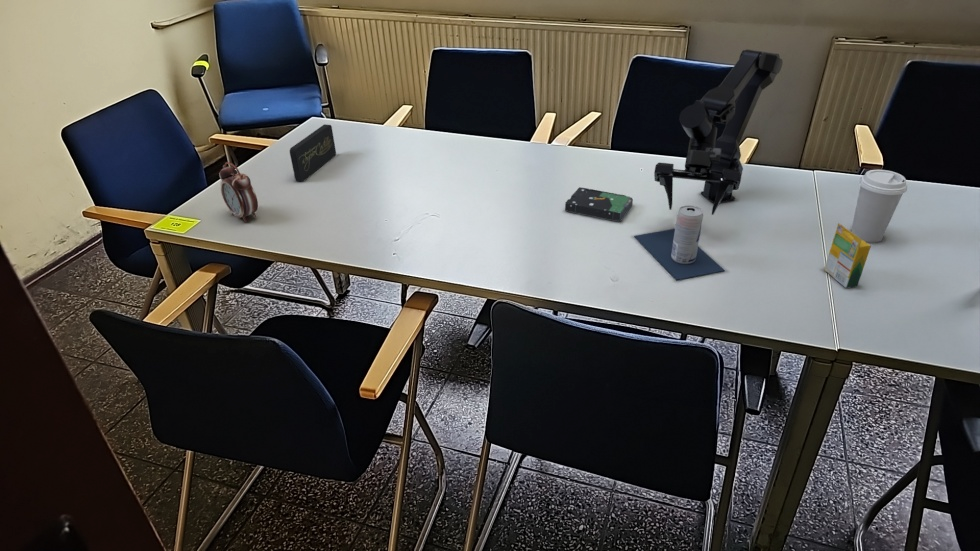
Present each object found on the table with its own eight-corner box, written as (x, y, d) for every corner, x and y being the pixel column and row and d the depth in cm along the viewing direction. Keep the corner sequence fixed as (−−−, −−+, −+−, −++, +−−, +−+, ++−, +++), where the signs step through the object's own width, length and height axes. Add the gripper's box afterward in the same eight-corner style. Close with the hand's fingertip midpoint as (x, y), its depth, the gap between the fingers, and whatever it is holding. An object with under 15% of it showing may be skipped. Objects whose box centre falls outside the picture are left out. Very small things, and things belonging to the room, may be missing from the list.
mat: (677, 229, 159) (677, 228, 158) (724, 271, 142) (724, 270, 142) (634, 236, 156) (634, 235, 156) (676, 280, 140) (676, 279, 140)
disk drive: (564, 212, 168) (620, 223, 162) (564, 202, 166) (621, 212, 160) (578, 196, 175) (632, 205, 170) (578, 186, 174) (633, 195, 168)
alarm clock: (225, 213, 172) (211, 160, 164) (242, 207, 175) (228, 154, 167) (247, 226, 166) (233, 171, 158) (264, 219, 169) (251, 165, 161)
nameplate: (301, 182, 187) (294, 149, 182) (295, 182, 188) (288, 149, 182) (336, 154, 204) (331, 123, 199) (331, 154, 205) (325, 123, 199)
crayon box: (858, 286, 136) (874, 237, 130) (845, 288, 136) (861, 239, 129) (835, 268, 142) (850, 220, 136) (823, 270, 142) (837, 222, 135)
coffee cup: (870, 250, 148) (891, 189, 140) (834, 232, 155) (851, 173, 147) (898, 239, 152) (919, 179, 143) (861, 222, 159) (880, 164, 151)
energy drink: (696, 254, 148) (704, 206, 142) (694, 266, 144) (702, 218, 137) (672, 250, 150) (678, 203, 143) (669, 262, 145) (676, 214, 139)
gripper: (659, 128, 146) (648, 195, 143) (748, 136, 141) (738, 205, 138) (660, 148, 156) (649, 211, 154) (742, 156, 151) (733, 221, 148)
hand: (691, 211), depth 148 cm, fingers open, 9 cm apart
